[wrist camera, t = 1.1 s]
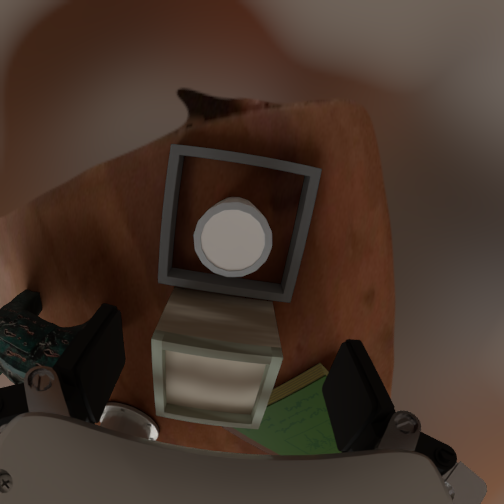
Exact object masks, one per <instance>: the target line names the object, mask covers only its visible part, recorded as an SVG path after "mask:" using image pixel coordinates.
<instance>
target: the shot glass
mask: <svg viewBox="0 0 504 504" xmlns="http://www.w3.org/2000/svg"><path fill="white" fill-rule="evenodd" d="M193 236H194V246H195V251H196V253H197V255H198V257H199V259H200V260H201V262H202V264H204V265H205V266H206V267H207V268H208V269H210V270H211V271H212V272H213V273H216V274H219V275H222V276H225V277H243V276H245V275H247V274H250V273H252V272H254V271H256V270H257V269H258V268H259V267H260V266H261V265H262V264H263V263H264V262H265V261H266V260H267V258H268V256H269V253H270V251H271V248H272V231H271V229H270V227H269V224H268V222H267V220H266V218H265V217H264V216H263V215H262V213H261V212H260V211H259V210H258V209H257V208H256V207H255V206H254V205H253V204H252V203H251V202H250V201H249V200H246V199H243V198H240V197H228V198H226V199H224V200H222V201H220V202H218V203H217V204H215V205H214V206H213V207H211V208H210V209H208V211H207V212H206V213H205V214H204V215H203V216H202V217H201V218H200V220H199V221H198V223H197V226H196V229H195V232H194V235H193Z"/></svg>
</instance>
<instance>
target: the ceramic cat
mask: <svg viewBox="0 0 504 504" xmlns="http://www.w3.org/2000/svg"><path fill="white" fill-rule="evenodd" d="M39 294H40V293H38V292H32V291H30V290H27V289H26V290H24V291H23V292H22V293H20V294H19V295H17V296H16V297H15V298H14V299H13V300H12V301H11V302H9V303H8V304H6V305H4V306H3V307H2V308H1V309H0V375H1V374H2V373H3V374H4V375H6V376H7V377H8V378H9V380H10V381H12V382H13V383H14V384H15V385H16V384H20V383H24V377H25V374H26V373H27V372H28V371H29V370H30V369H31V368H33V367H36V366H48V367H50V368H52V367H53V366H54V365H55V363H56V362H57V360H58V359H59V357H60V356H61V355H62V353H63V352H64V350H65V349H66V348H67V346H68V345H69V344H70V342H71V341H72V339H73V338H74V337H75V335H76V334H77V333H78V331H80V330H81V329H84V327H85V326H86V325H87V323H88V322H89V321H90V320H89V321H87V322H86V323H84V324H81V325H78V326H73V327H59V326H57V325H55V324H53V323H50V322H47V321H46V320H43V319H41V318H40V317H38V315H39V313H40V312H41V310H42V303H41V299H40V295H39Z"/></svg>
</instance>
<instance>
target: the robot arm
mask: <svg viewBox="0 0 504 504" xmlns="http://www.w3.org/2000/svg"><path fill="white" fill-rule="evenodd" d="M124 365H125V351H124V342H123V332H122V321H121V312H120V310H117V307H116V306H113V305H109V304H105V303H104V304H102V305H101V306H100V308H99V309H98V310H97V312H96V313H95V314H94V315H93V317H92V318H91V319H90V321H89V322H88V323H87V325H86V326H85V327H84V329H81V330H80V331H78V333H77V334H76V335H75V337H74V338H73V339H72V341H71V342H70V344H69V345H68V346H67V348H66V349H65V350H64V352H63V353H62V355H61V356H60V357H59V359H58V360H57V362H56V363H55V365H54V366H53V367H52V368H50V367H48V366H36V367H33V368H31V369H30V370H29V371H28V372H27V373H26V374H25V377H24V383H20V384H16V385H12V386H8V387H4V388H0V504H481V502H482V500H483V498H484V497H485V495H486V492H487V486H486V483H485V482H484V481H483V480H482V479H481V478H480V477H479V476H477V475H476V474H475V473H474V472H473V471H471V470H470V469H469V468H468V467H466V466H465V465H464V464H463V463H462V462H461V461H460V462H459V463H457V462H456V461H457V456H456V453H455V451H454V450H453V449H452V448H451V447H450V446H448V445H447V444H444V443H442V442H440V441H438V440H436V439H434V438H432V437H430V436H428V435H426V434H424V433H422V432H420V431H421V423H420V421H419V419H418V418H417V417H416V416H415V415H414V414H412V413H411V412H408V411H397V412H395V410H394V405H393V403H392V401H391V399H390V397H389V395H388V393H387V391H386V389H385V387H384V385H383V383H382V381H381V379H380V377H379V375H378V373H377V371H376V369H375V367H374V365H373V363H372V361H371V359H370V357H369V355H368V353H367V351H366V350H365V348H364V346H363V344H362V342H361V341H360V340H351V339H348V340H346V342H344V343H342V344H341V346H340V349H339V351H338V353H337V355H336V358H335V360H334V362H333V364H332V366H331V369H330V371H329V373H328V375H327V377H326V379H325V381H324V383H323V386H322V393H323V397H324V400H325V404H326V407H327V411H328V415H329V418H330V422H331V426H332V430H333V433H334V437H335V441H336V445H337V448H338V450H339V451H341V452H342V453H333V454H317V455H255V454H240V453H228V452H219V451H210V450H203V449H196V448H190V447H184V446H178V445H172V444H167V443H162V442H158V441H155V440H156V439H157V438H158V435H159V428H158V426H157V424H156V423H155V422H154V421H153V420H152V419H151V418H150V417H149V416H148V415H146V414H145V413H143V412H141V411H140V410H138V409H136V408H134V407H131V406H128V405H125V404H121V403H116V402H108V400H109V398H110V395H111V393H112V391H113V389H114V387H115V384H116V382H117V380H118V378H119V376H120V373H121V371H122V369H123V367H124ZM107 402H108V403H107ZM99 421H100V422H101V425H100V426H98V425H95V424H94V423H95V422H96V423H98V422H99Z"/></svg>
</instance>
